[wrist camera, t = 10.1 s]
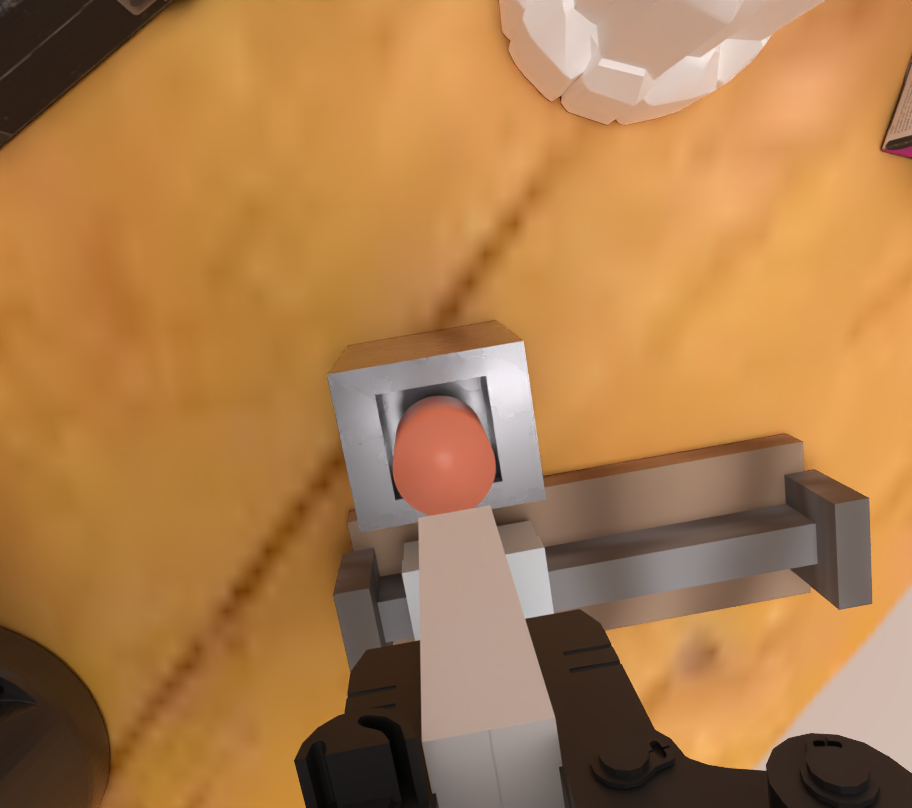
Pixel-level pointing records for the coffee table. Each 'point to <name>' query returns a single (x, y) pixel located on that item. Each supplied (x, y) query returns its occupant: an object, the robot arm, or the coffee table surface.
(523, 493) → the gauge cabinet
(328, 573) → the coffee table surface
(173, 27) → the coffee table surface
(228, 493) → the coffee table surface
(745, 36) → the decorative vase
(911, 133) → the candy bar box
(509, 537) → the carriage
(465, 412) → the button
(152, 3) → the cash box
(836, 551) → the slide rail
